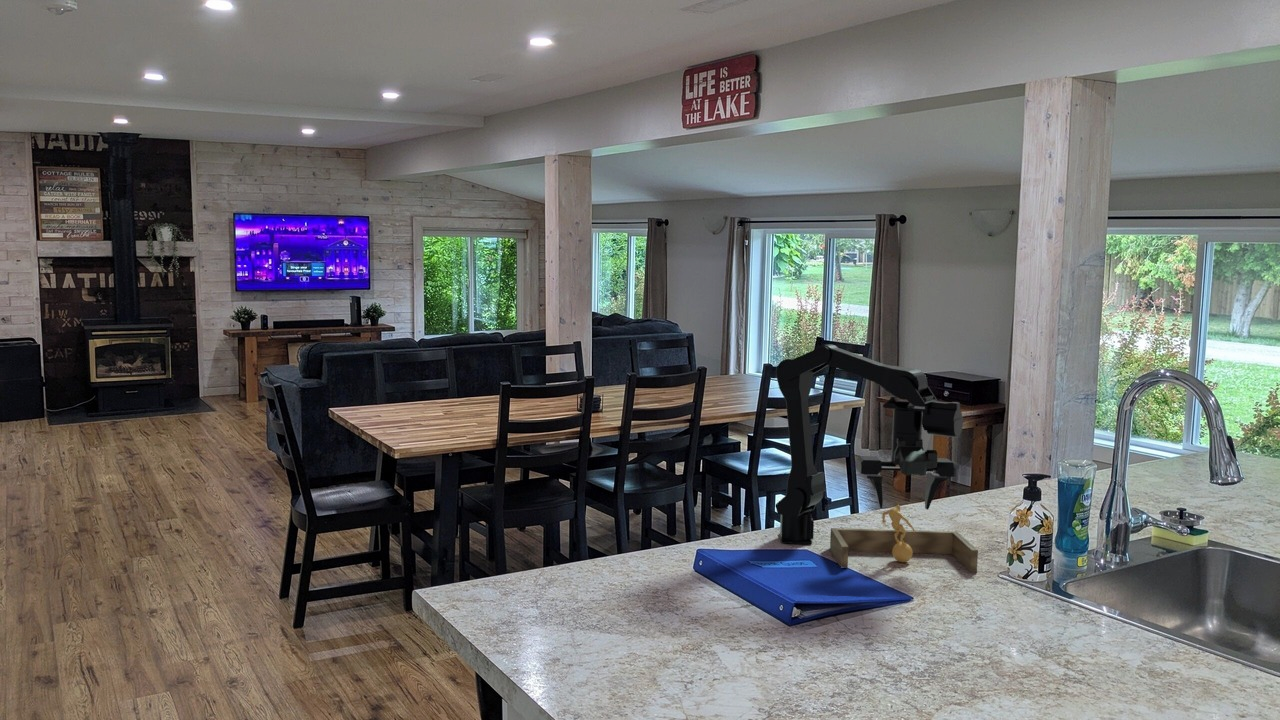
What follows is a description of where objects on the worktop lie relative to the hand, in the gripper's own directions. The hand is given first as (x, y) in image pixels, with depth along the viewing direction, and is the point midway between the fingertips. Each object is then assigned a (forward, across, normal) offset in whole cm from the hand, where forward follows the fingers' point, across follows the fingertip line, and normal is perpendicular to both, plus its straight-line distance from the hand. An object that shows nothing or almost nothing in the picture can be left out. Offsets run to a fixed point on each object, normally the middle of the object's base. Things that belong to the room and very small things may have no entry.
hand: (903, 508), depth 195 cm
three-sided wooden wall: (+11, 0, 0) cm, 11 cm away
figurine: (+11, -1, -1) cm, 11 cm away
